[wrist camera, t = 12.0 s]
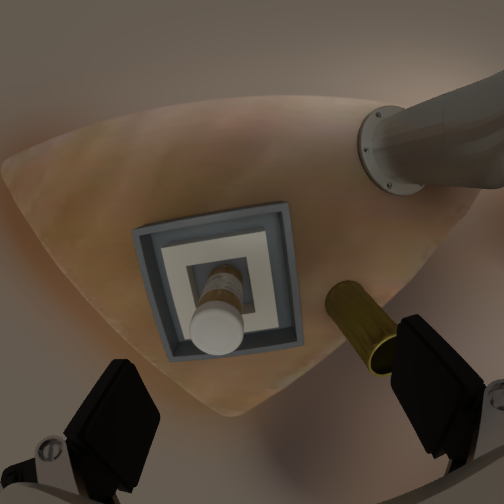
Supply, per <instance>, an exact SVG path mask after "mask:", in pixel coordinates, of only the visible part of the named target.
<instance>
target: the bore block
mask: <svg viewBox="0 0 504 504" xmlns="http://www.w3.org/2000/svg"><path fill="white" fill-rule="evenodd" d="M161 251H162V255H163V260H164V264H165V268H166V273H167V277H168V281H169V285H170V289H171V292H172V296H173V300H174V304H175V307H176V311H177V315H178V318H179V322H180V325H181V328H182V332H183V335H184V338H185V339H191V337H190V334H189V326H190V322H191V319H192V316H193V314H194V312H195V310H196V309H197V308H198V304H199V300H200V299H199V295H198V290H197V286H196V282H195V277H194V273H193V268H192V265H196V264H202V263H208V262H215V261H221V260H227V259H234V258H240V257H246V258H247V264H248V270H249V276H250V282H251V288H252V293H253V299H254V303H249V304H243V310H242V318H243V321H244V332H251V331H257V330H264V329H270V328H276V327H279V325H278V317H277V310H276V303H275V295H274V288H273V281H272V274H271V267H270V260H269V253H268V246H267V239H266V233H265V230H264V228H263V227H262V228H255V229H249V230H243V231H237V232H230V233H224V234H218V235H212V236H206V237H200V238H195V239H189V240H183V241H177V242H172V243H167V244H166V245H165V246H163V247H162V248H161Z"/></svg>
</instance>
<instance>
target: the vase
mask: <svg viewBox="0 0 504 504" xmlns="http://www.w3.org/2000/svg"><path fill="white" fill-rule="evenodd" d="M326 310H327V313H328V315H329V316H330V317H331V318H332V319H333V320H334V322H335V323H336V324H337V326H338V327H339V328H340V330H341V331H342V332H343V334H344V335H345V337H346V338H347V339H348V341H349V342H350V343H351V345H352V346H353V348H354V349H355V350H356V352H357V353H358V355H359V356H360V357H361V359H362V360H363V361H364V363H365V365H366V366H367V368H368V370H369V371H370V372H371V373H372V374H373V375H375V376H378V377H385V376H389V375H392V368H393V361H394V353H395V344H396V334H397V326H398V325H397V324H396V323H395V322H394V321H393V320H392V319H391V318H390V317H389V315H388V314H387V313H386V312H385V311H384V310H383V309H382V308H381V307H380V306H379V305H378V304H377V303H376V302H375V301H374V299H373V298H372V297H371V296H370V295H369V294H368V293H367V292H366V291H365V290H364V289H363V287H362V286H361V285H360V284H358V283H356V282H353V281H345V282H342V283H340V284H338V285H336V286H335V287H334V288H333V289H332V290H331V291H330V293H329V294H328V296H327V299H326Z"/></svg>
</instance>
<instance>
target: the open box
mask: <svg viewBox="0 0 504 504" xmlns="http://www.w3.org/2000/svg"><path fill="white" fill-rule="evenodd" d="M262 227H263V228H264V230H265V233H266V239H267V246H268V253H269V260H270V267H271V274H272V281H273V288H274V295H275V303H276V310H277V317H278V325H279V327H276V328H270V329H264V330H257V331H251V332H244V336H243V340H242V342H241V344H240V345H239V346H238V348H237V349H235V350H234V351H232V352H231V353H228V354H225V355H211V354H208V353H205V352H203V351H201V350H200V349H198V348H197V347H196V346H195V344H194V343H193V342H192V340H191V339H185V338H184V335H183V332H182V328H181V325H180V322H179V318H178V315H177V311H176V307H175V304H174V300H173V296H172V292H171V289H170V285H169V281H168V277H167V273H166V268H165V264H164V260H163V255H162V251H161V248H162V247H163V246H165V245H166V244H167V243H172V242H177V241H183V240H189V239H195V238H200V237H206V236H212V235H218V234H224V233H230V232H237V231H243V230H249V229H255V228H262ZM131 231H132V235H133V240H134V244H135V249H136V253H137V257H138V261H139V266H140V270H141V273H142V277H143V281H144V285H145V288H146V292H147V295H148V299H149V302H150V306H151V309H152V312H153V316H154V319H155V322H156V325H157V328H158V331H159V334H160V337H161V340H162V343H163V346H164V349H165V352H166V354H167V357H168V360H169V362H178V361H192V360H204V359H214V358H223V357H232V356H240V355H248V354H255V353H262V352H268V351H274V350H280V349H286V348H292V347H297V346H303V345H304V339H303V328H302V317H301V306H300V296H299V286H298V277H297V268H296V259H295V251H294V243H293V235H292V227H291V220H290V212H289V205H288V202H285V201H277V202H270V203H263V204H256V205H250V206H244V207H238V208H231V209H225V210H220V211H214V212H208V213H203V214H197V215H192V216H186V217H181V218H176V219H171V220H165V221H160V222H155V223H151V224H146V225H143V226H140V227H138V228H135V229H133V230H131ZM221 265H230V266H233V267H234V268H236V269H237V270H238V271H239V272H240V273H241V275H242V278H243V287H242V289H243V304H249V303H254V299H253V293H252V288H251V282H250V276H249V270H248V264H247V258H246V257H240V258H234V259H227V260H221V261H215V262H208V263H202V264H196V265H192V268H193V273H194V277H195V282H196V286H197V290H198V295H199V299H200V297H201V295H202V292H203V289H204V287H205V284H206V282H207V280H208V276H209V274H210V272H211V271H212V270H213V269H214V268H216V267H218V266H221Z"/></svg>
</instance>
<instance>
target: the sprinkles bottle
mask: <svg viewBox="0 0 504 504" xmlns="http://www.w3.org/2000/svg"><path fill="white" fill-rule="evenodd" d="M242 287H243V278H242V275H241V273H240V272H239V271H238V270H237V269H236V268H234V267H233V266H230V265H221V266H218V267H216V268H214V269H213V270H212V271H211V272H210V274H209V276H208V280H207V282H206V284H205V287H204V289H203V292H202V295H201V297H200V300H199V304H198V308H197V309H196V310H195V312H194V314H193V316H192V319H191V322H190V326H189V334H190V337H191V340H192V342H193V343H194V344H195V346H196V347H197V348H198V349H200V350H201V351H203V352H205V353H208V354H211V355H225V354H228V353H231V352H232V351H234V350H235V349H237V348H238V346H239V345H240V344H241V342H242V340H243V336H244V321H243V318H242V310H243V289H242Z"/></svg>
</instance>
